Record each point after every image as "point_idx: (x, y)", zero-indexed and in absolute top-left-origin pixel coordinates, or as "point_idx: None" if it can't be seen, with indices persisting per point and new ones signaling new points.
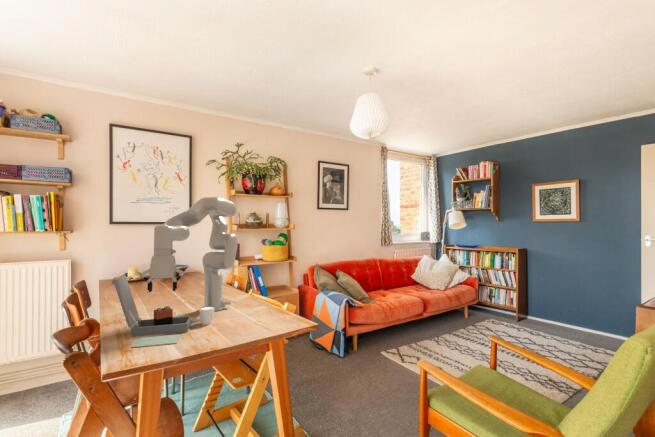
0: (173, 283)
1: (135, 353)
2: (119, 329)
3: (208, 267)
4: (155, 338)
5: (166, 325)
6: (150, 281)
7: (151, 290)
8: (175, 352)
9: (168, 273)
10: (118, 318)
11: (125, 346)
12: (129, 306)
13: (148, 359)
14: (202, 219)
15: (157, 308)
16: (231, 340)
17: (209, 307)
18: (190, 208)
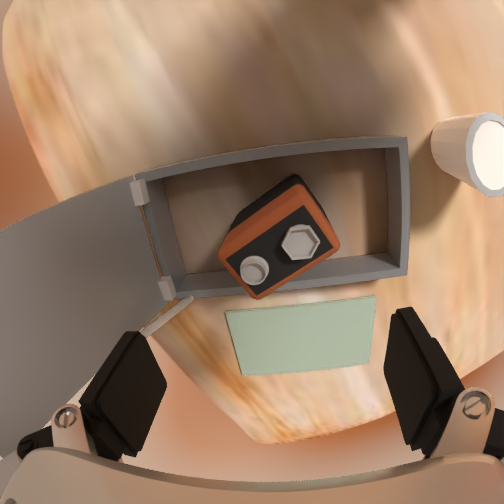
0: (411, 437)
1: (274, 399)
2: (89, 187)
3: None
4: (291, 327)
5: (317, 286)
6: (118, 460)
7: (151, 364)
8: (370, 401)
9: None
10: (32, 59)
11: (219, 360)
12: (88, 301)
13: (317, 421)
14: None
15: (241, 270)
16: (489, 341)
17: (502, 137)
18: None
